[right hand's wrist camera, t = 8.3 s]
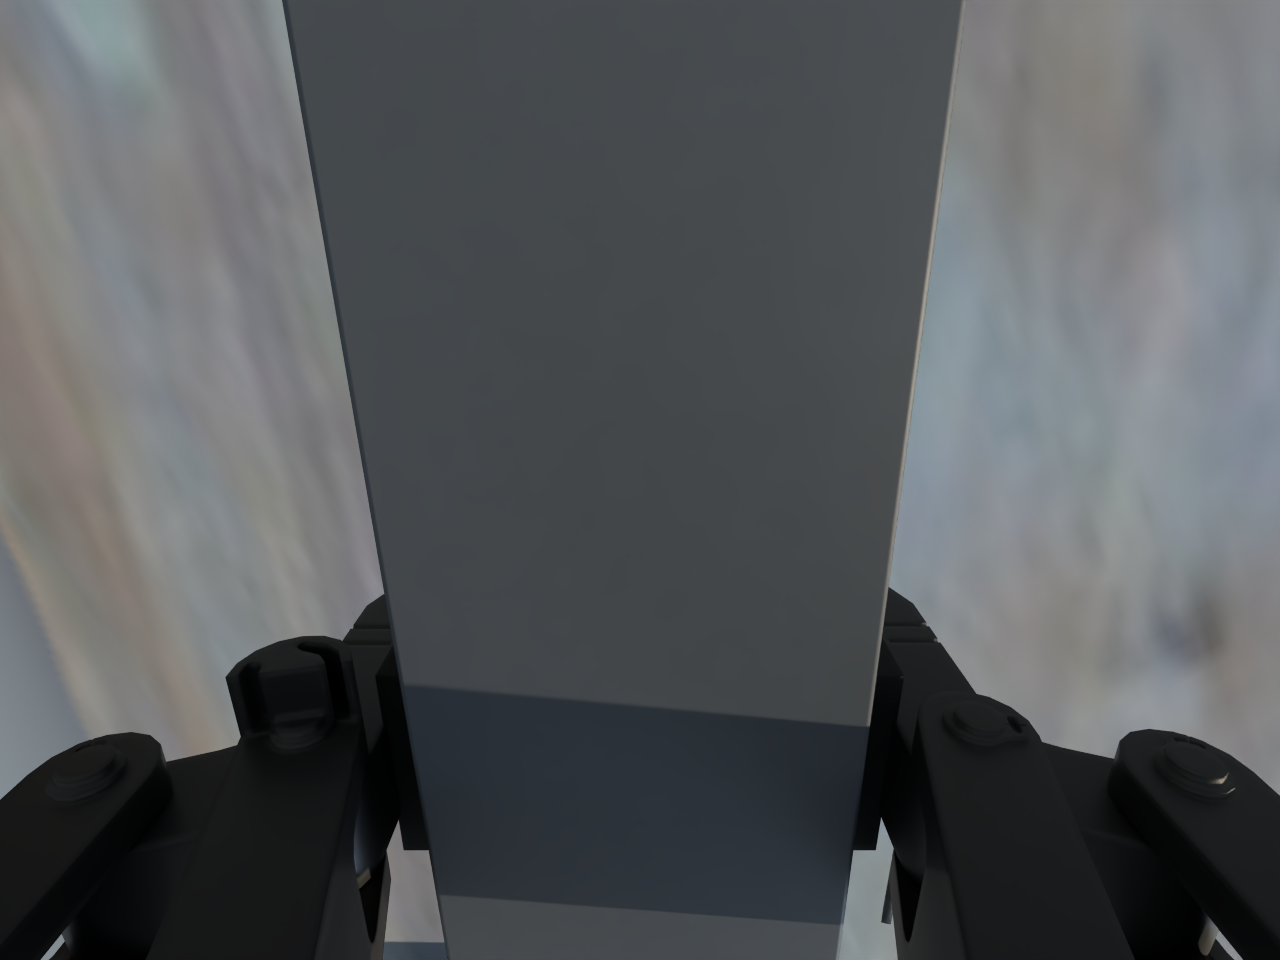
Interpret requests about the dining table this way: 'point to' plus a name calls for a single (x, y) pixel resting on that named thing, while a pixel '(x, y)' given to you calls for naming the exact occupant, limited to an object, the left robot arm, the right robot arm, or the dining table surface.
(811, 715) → the post
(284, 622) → the dining table surface
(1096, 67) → the dining table surface
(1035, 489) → the dining table surface
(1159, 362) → the dining table surface
